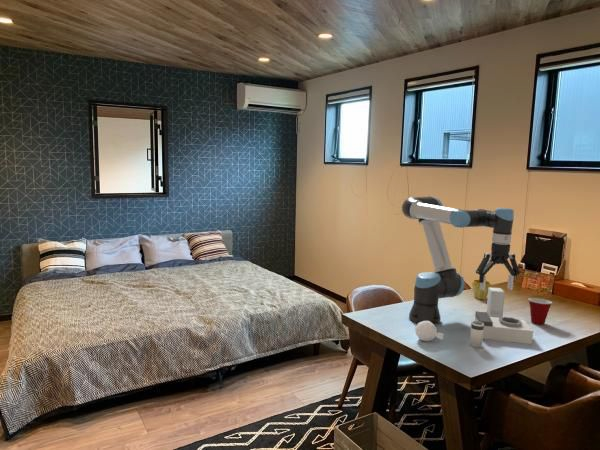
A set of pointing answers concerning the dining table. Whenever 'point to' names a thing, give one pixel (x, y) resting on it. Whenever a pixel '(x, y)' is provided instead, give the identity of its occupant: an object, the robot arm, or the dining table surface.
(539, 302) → the plastic cup
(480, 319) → the camera body
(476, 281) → the plant pot
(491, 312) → the skincare box
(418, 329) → the perfume bottle
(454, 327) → the dining table surface
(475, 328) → the lens
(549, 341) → the dining table surface
